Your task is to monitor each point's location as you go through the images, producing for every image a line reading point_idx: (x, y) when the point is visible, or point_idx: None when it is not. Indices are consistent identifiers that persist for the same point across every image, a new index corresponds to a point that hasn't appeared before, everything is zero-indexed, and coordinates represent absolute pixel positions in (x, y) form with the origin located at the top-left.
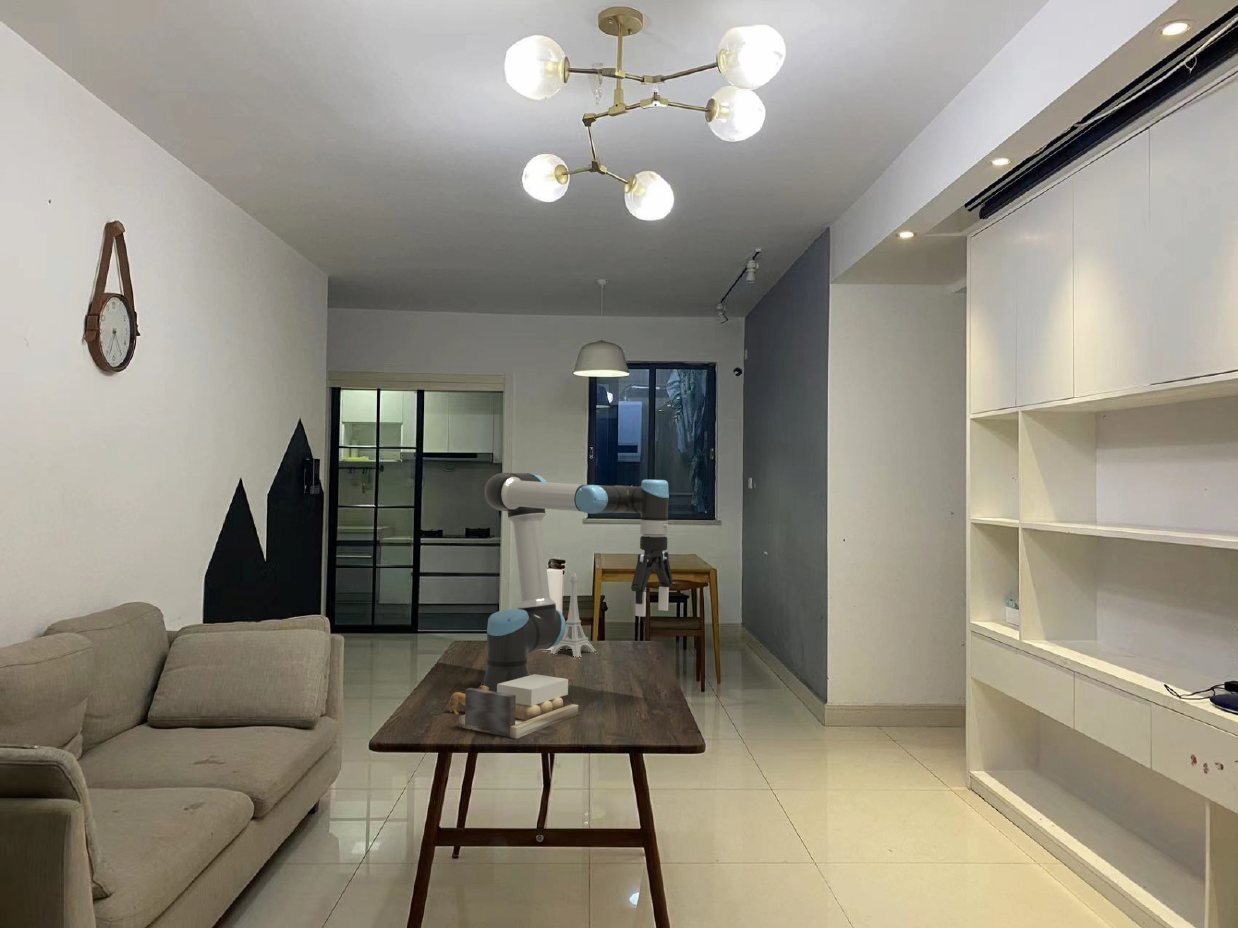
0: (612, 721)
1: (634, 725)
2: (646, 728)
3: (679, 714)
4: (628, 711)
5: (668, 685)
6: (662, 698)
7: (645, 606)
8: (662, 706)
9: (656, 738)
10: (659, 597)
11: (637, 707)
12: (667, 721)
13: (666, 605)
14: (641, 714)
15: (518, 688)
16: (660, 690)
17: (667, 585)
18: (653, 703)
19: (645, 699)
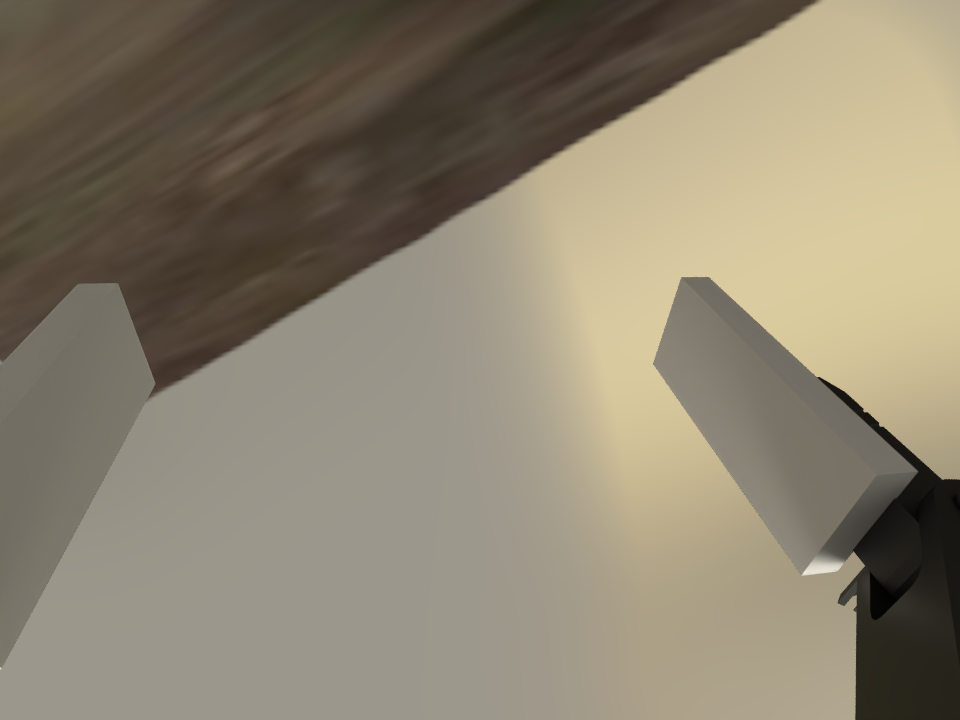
0: (52, 83)
1: (88, 199)
2: (96, 255)
3: (348, 269)
4: (251, 66)
5: (793, 11)
6: (543, 101)
7: (106, 467)
8: (418, 164)
9: (28, 334)
10: (759, 369)
11: (340, 70)
12: (236, 275)
13: (679, 392)
14: (250, 145)
15: None
16: (685, 20)
17: (862, 585)
18: (444, 105)
19: (493, 34)
